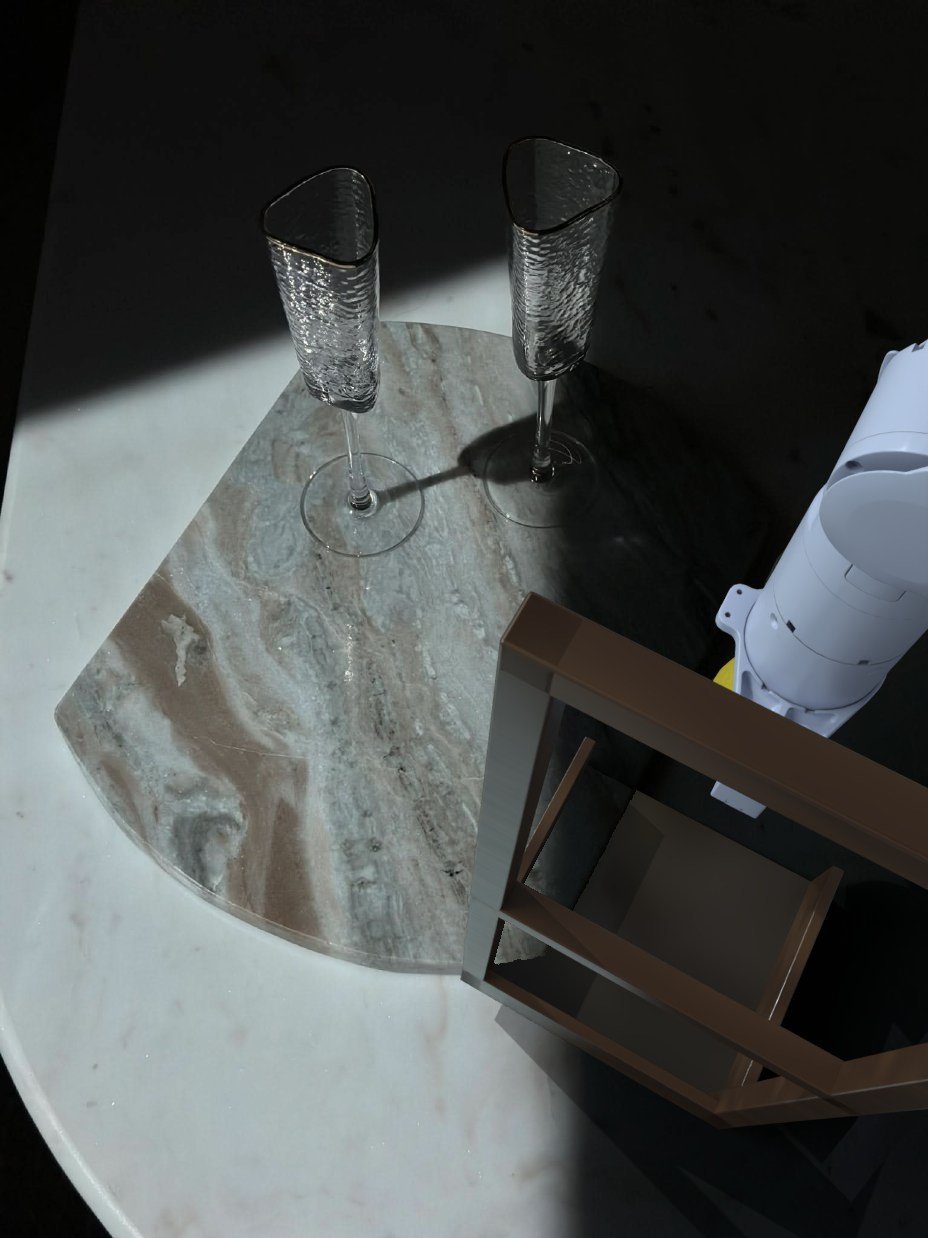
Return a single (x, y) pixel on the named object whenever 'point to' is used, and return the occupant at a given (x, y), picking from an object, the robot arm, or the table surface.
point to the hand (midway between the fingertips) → (758, 720)
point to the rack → (679, 883)
